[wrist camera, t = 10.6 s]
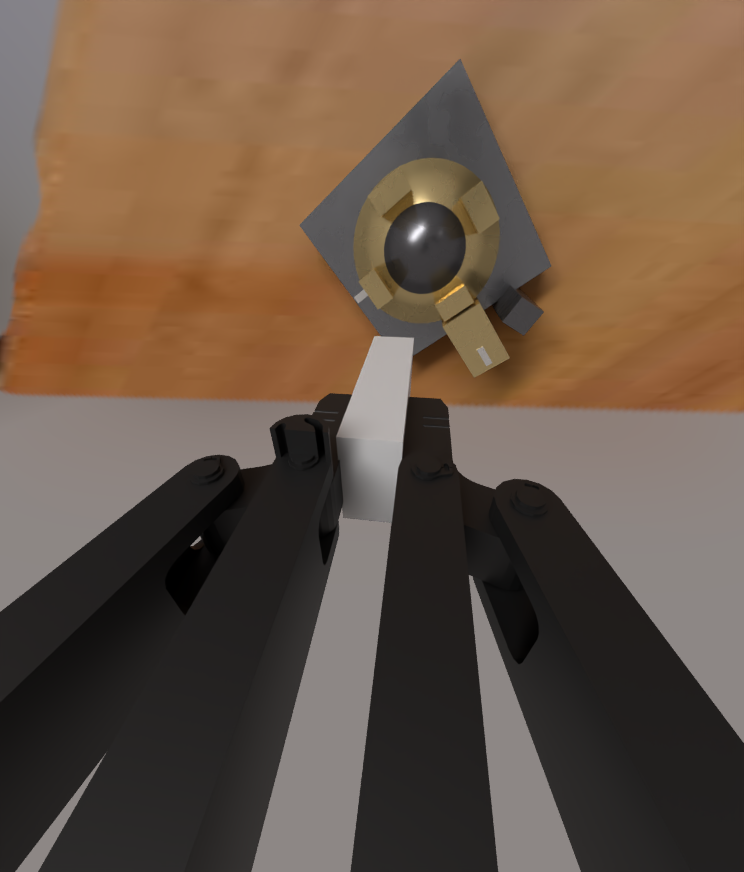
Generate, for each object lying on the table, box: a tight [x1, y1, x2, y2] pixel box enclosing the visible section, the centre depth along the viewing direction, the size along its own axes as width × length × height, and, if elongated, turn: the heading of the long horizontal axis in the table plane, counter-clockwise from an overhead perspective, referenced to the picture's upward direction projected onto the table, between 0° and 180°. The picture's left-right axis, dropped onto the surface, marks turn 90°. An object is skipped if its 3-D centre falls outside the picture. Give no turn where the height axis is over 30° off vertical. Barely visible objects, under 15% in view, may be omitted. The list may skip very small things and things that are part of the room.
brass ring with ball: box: [353, 158, 510, 378], centre depth 25 cm, size 15×10×4 cm, turn 37°
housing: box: [300, 59, 551, 356], centre depth 26 cm, size 14×16×7 cm
